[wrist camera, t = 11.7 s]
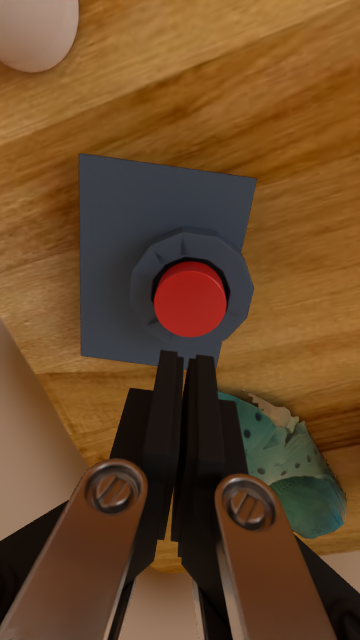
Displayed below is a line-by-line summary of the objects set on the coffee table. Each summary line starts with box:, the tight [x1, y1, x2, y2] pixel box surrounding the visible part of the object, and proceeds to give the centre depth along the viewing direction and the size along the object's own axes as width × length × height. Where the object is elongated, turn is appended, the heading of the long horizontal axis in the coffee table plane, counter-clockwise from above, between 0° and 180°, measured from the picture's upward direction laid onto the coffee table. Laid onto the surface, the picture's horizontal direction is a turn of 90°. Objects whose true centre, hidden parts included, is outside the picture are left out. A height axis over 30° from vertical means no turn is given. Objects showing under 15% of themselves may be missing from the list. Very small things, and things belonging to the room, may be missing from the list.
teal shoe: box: [218, 389, 347, 539], centre depth 26 cm, size 9×20×5 cm, turn 33°
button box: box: [79, 154, 257, 371], centre depth 19 cm, size 12×10×4 cm
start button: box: [154, 261, 226, 337], centre depth 17 cm, size 4×4×2 cm
